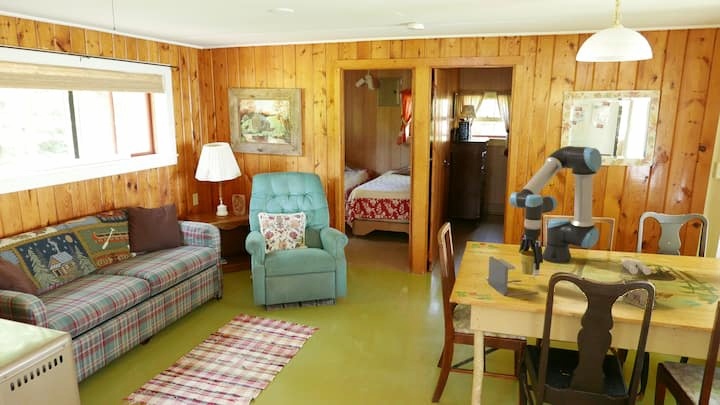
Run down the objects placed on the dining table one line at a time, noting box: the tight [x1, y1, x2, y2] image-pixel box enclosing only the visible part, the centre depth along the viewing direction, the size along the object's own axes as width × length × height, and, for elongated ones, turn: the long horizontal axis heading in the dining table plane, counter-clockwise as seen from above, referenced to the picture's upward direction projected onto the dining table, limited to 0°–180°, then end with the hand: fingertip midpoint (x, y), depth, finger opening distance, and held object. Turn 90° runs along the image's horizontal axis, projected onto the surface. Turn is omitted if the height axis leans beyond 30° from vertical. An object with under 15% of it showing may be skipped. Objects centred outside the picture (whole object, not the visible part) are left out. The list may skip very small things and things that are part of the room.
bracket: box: [487, 256, 540, 297], centre depth 238 cm, size 18×18×14 cm
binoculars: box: [621, 258, 652, 276], centre depth 263 cm, size 10×16×5 cm, turn 170°
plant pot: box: [518, 249, 535, 276], centre depth 239 cm, size 10×10×10 cm
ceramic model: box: [622, 289, 658, 310], centre depth 220 cm, size 14×11×10 cm
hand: (529, 272), depth 240 cm, fingers closed on plant pot, 10 cm apart
